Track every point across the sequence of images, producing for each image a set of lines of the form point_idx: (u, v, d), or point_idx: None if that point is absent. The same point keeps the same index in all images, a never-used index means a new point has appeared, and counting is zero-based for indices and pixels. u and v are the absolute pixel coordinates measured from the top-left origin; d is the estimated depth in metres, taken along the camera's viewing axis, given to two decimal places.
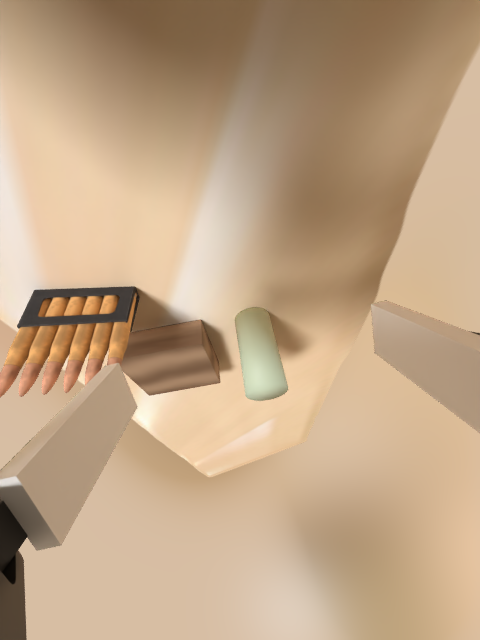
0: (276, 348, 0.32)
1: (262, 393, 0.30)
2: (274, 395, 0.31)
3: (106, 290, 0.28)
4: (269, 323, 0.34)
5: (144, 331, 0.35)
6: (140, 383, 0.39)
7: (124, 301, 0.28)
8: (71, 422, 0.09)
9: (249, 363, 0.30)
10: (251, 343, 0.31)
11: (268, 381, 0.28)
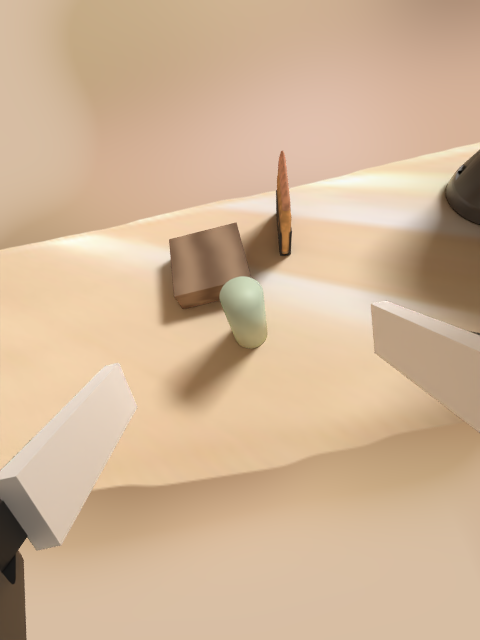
0: (258, 327, 0.32)
1: (238, 291, 0.29)
2: (229, 304, 0.28)
3: None
4: (261, 337, 0.36)
5: None
6: (195, 235, 0.44)
7: None
8: (71, 422, 0.09)
9: None
10: None
11: None
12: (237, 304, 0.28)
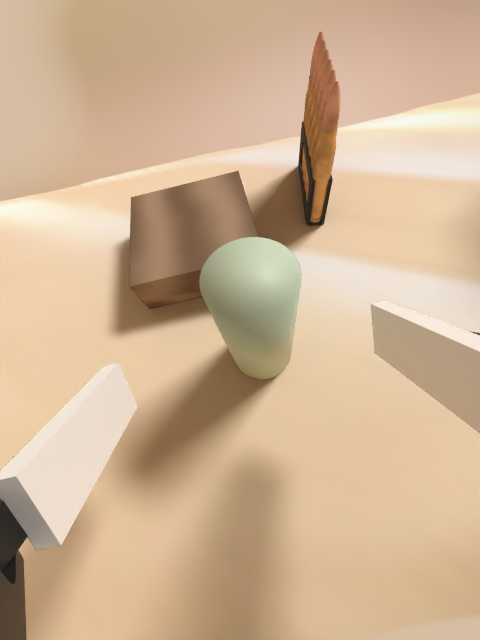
0: (282, 346, 0.16)
1: (242, 267, 0.13)
2: (222, 297, 0.12)
3: None
4: (283, 362, 0.19)
5: None
6: (171, 190, 0.27)
7: None
8: (71, 422, 0.09)
9: None
10: None
11: (300, 271, 0.12)
12: (240, 298, 0.12)
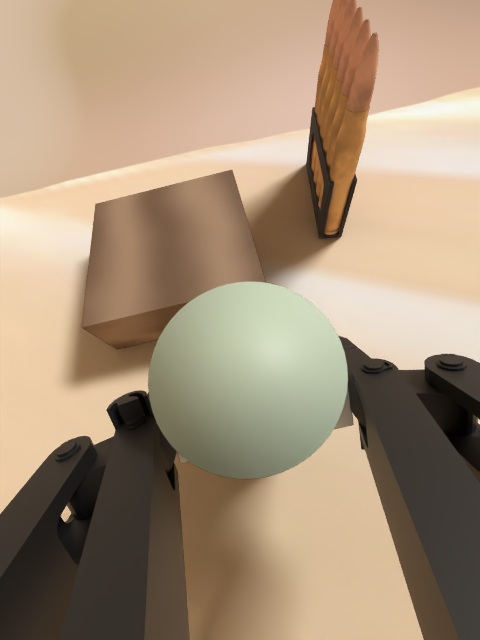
0: None
1: (231, 345, 0.07)
2: (189, 412, 0.06)
3: None
4: None
5: None
6: (147, 195, 0.21)
7: None
8: None
9: None
10: None
11: (343, 357, 0.06)
12: (226, 416, 0.06)
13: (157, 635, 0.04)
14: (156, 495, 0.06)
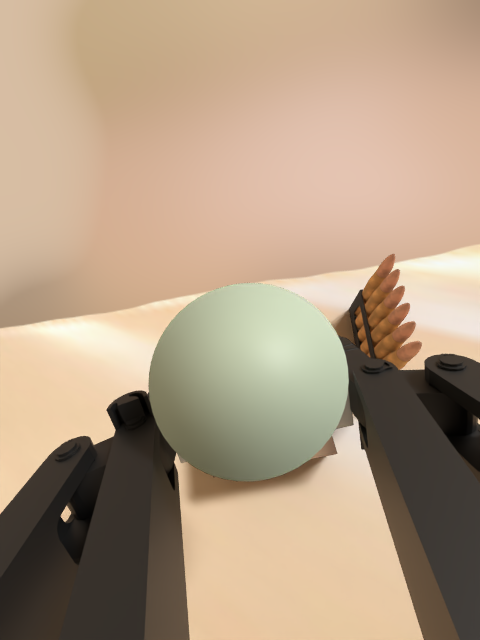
0: None
1: (231, 347, 0.07)
2: (190, 415, 0.06)
3: None
4: None
5: None
6: None
7: None
8: None
9: None
10: None
11: (344, 359, 0.06)
12: (226, 418, 0.06)
13: (157, 636, 0.04)
14: (156, 495, 0.06)
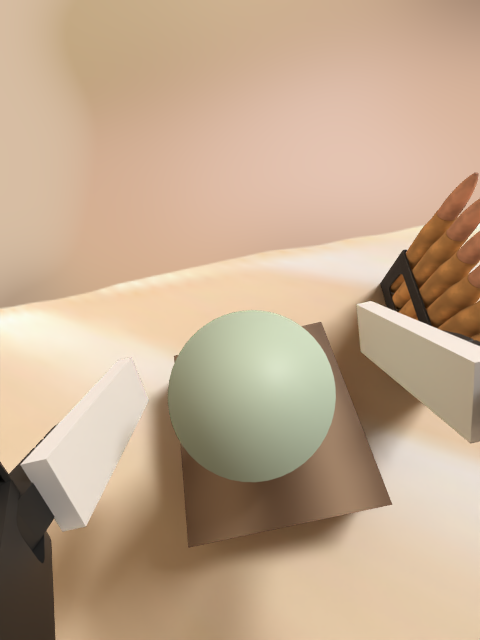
0: None
1: (237, 368, 0.08)
2: (203, 426, 0.07)
3: None
4: None
5: None
6: None
7: None
8: (91, 411, 0.09)
9: None
10: None
11: (333, 379, 0.07)
12: (234, 430, 0.07)
13: None
14: (6, 575, 0.05)
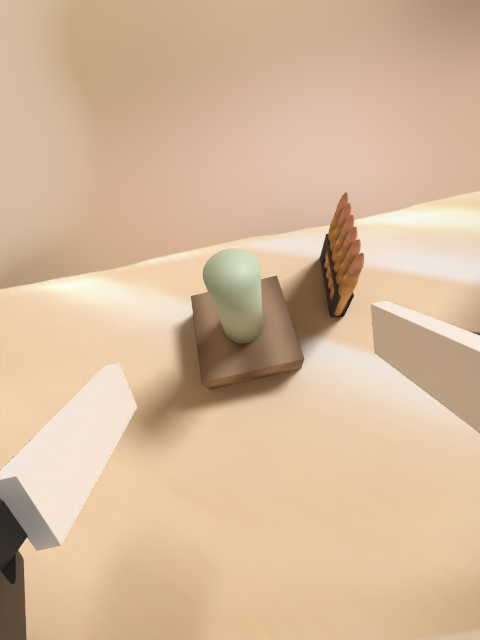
0: (253, 315, 0.25)
1: (227, 266, 0.22)
2: (216, 283, 0.22)
3: None
4: (256, 329, 0.29)
5: None
6: None
7: None
8: (71, 422, 0.09)
9: None
10: None
11: None
12: (226, 283, 0.21)
13: None
14: None
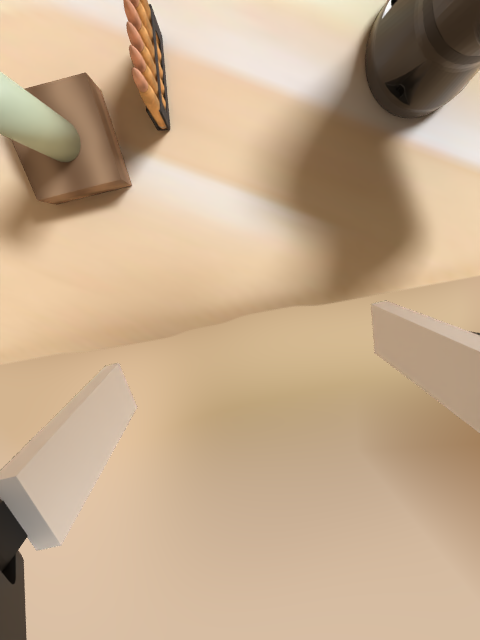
0: (43, 137, 0.28)
1: None
2: None
3: (167, 102, 0.35)
4: (66, 149, 0.32)
5: (111, 124, 0.36)
6: (30, 93, 0.32)
7: (166, 115, 0.34)
8: (71, 422, 0.09)
9: (19, 86, 0.25)
10: (43, 105, 0.27)
11: (9, 89, 0.23)
12: None
13: None
14: None
